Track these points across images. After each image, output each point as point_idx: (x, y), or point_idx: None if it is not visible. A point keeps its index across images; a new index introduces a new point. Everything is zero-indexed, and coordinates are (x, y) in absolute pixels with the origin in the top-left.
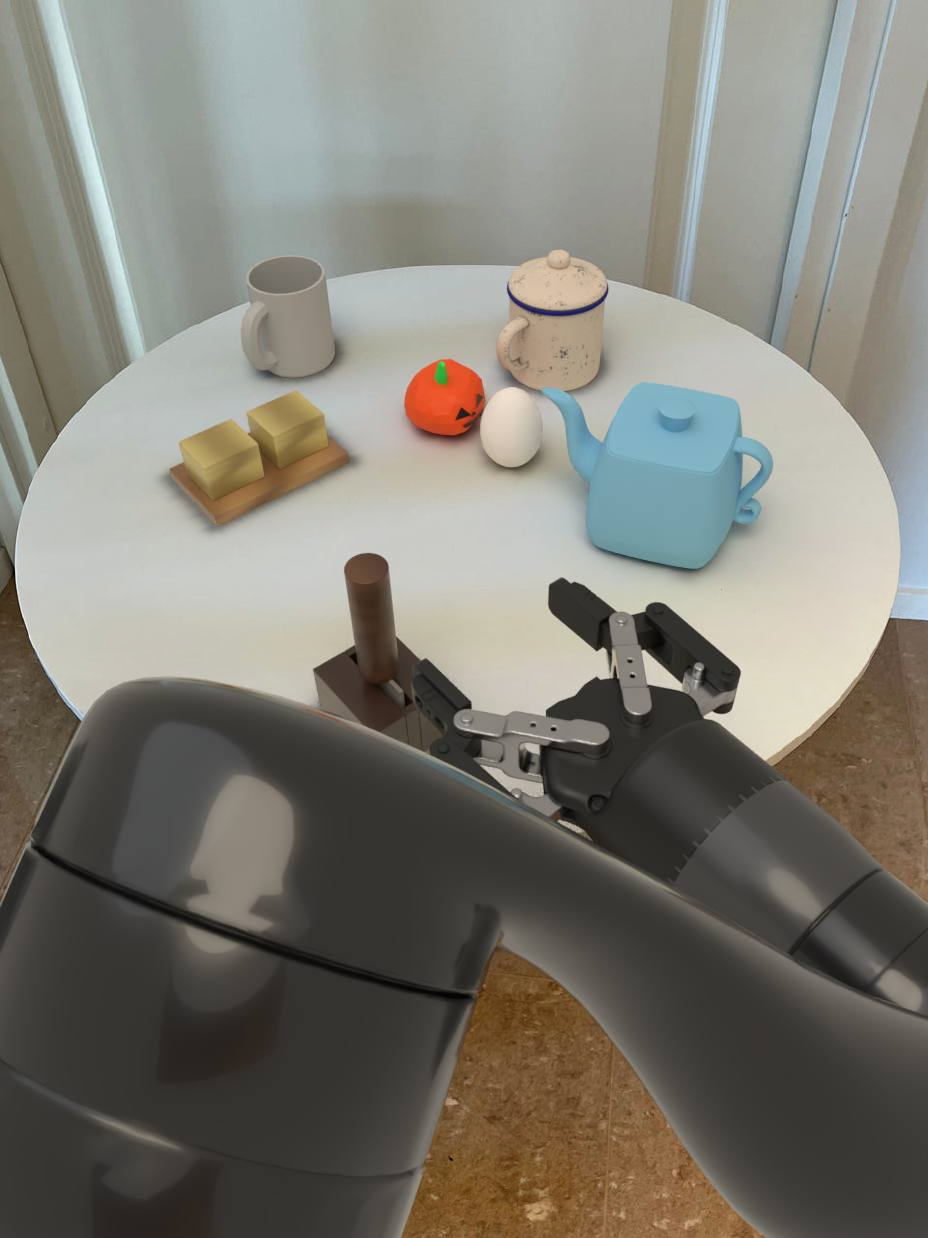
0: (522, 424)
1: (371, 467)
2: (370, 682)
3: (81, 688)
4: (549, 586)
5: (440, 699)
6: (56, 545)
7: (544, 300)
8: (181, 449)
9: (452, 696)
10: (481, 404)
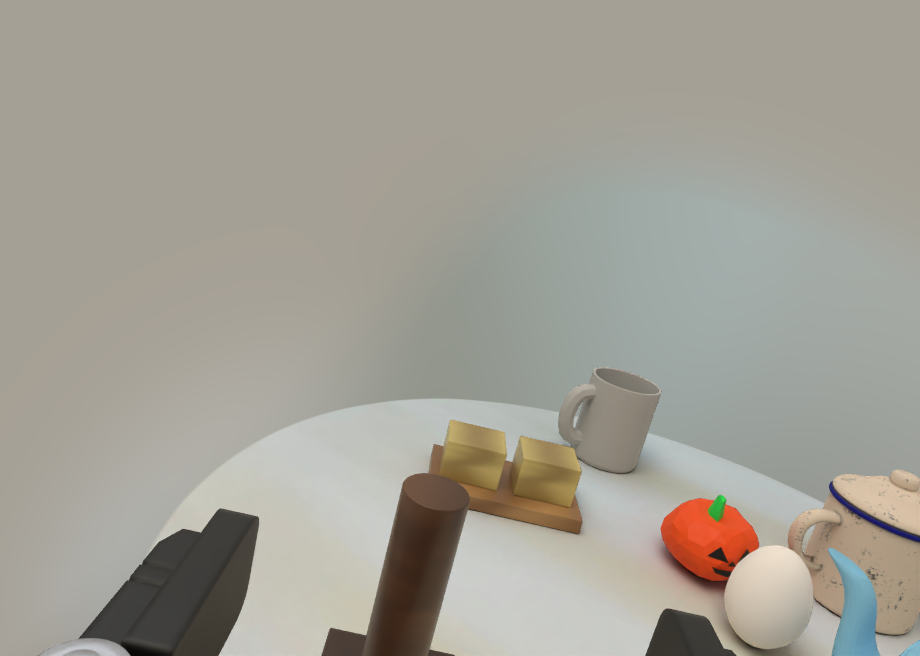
0: (783, 592)
1: (596, 549)
2: None
3: (183, 515)
4: (661, 618)
5: (151, 599)
6: (309, 435)
7: (871, 504)
8: (448, 427)
9: (163, 603)
10: None
